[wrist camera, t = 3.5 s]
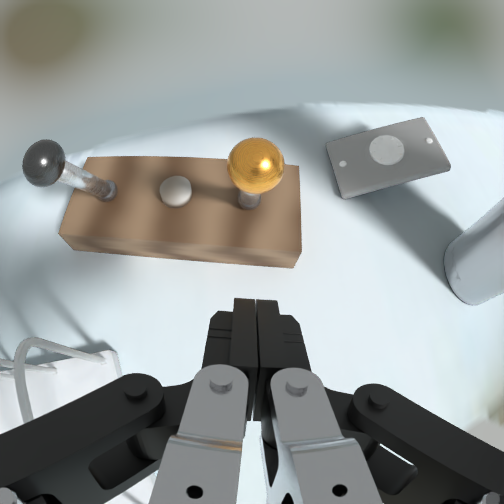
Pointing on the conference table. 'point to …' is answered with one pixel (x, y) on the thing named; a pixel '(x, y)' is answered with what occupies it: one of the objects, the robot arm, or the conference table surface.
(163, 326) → the conference table surface
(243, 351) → the robot arm
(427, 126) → the light switch
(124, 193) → the switch panel
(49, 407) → the file sorter
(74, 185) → the lever black
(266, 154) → the lever orange
